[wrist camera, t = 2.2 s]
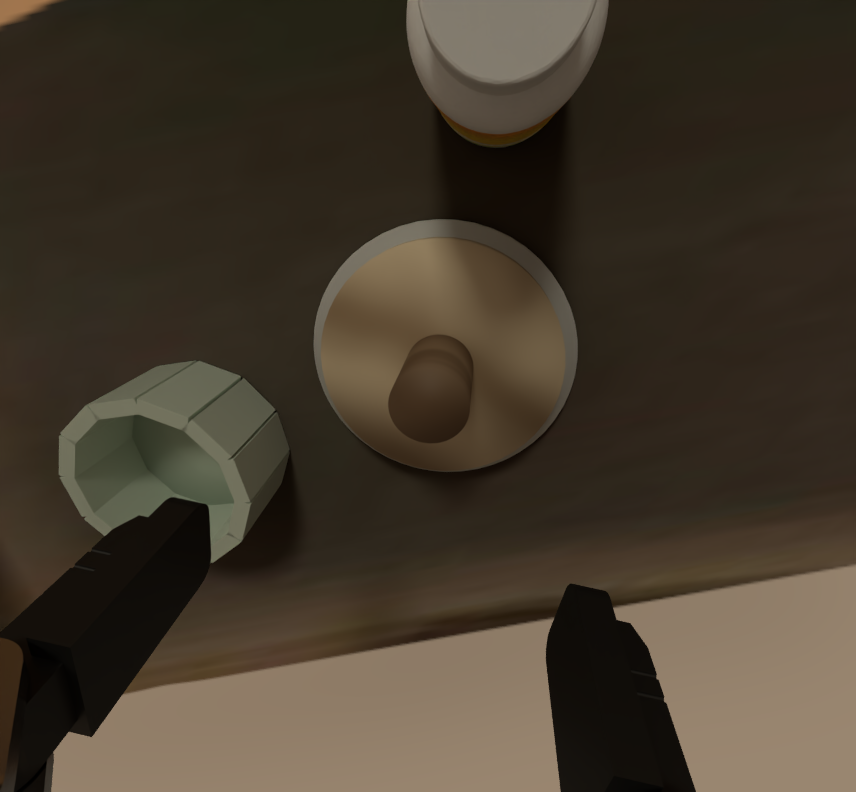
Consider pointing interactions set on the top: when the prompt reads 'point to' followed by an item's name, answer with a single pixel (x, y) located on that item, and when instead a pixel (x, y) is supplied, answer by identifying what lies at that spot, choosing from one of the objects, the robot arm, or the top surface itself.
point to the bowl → (176, 450)
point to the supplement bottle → (502, 61)
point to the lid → (443, 354)
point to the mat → (481, 236)
